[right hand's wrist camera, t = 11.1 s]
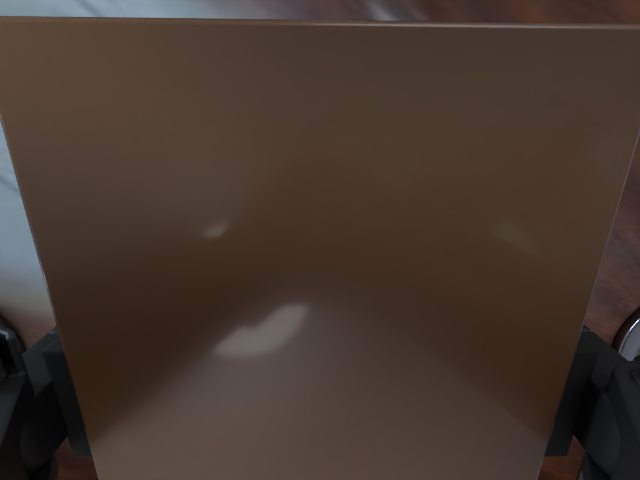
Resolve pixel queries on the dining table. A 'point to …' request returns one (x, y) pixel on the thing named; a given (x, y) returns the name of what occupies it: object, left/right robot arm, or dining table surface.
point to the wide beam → (319, 234)
